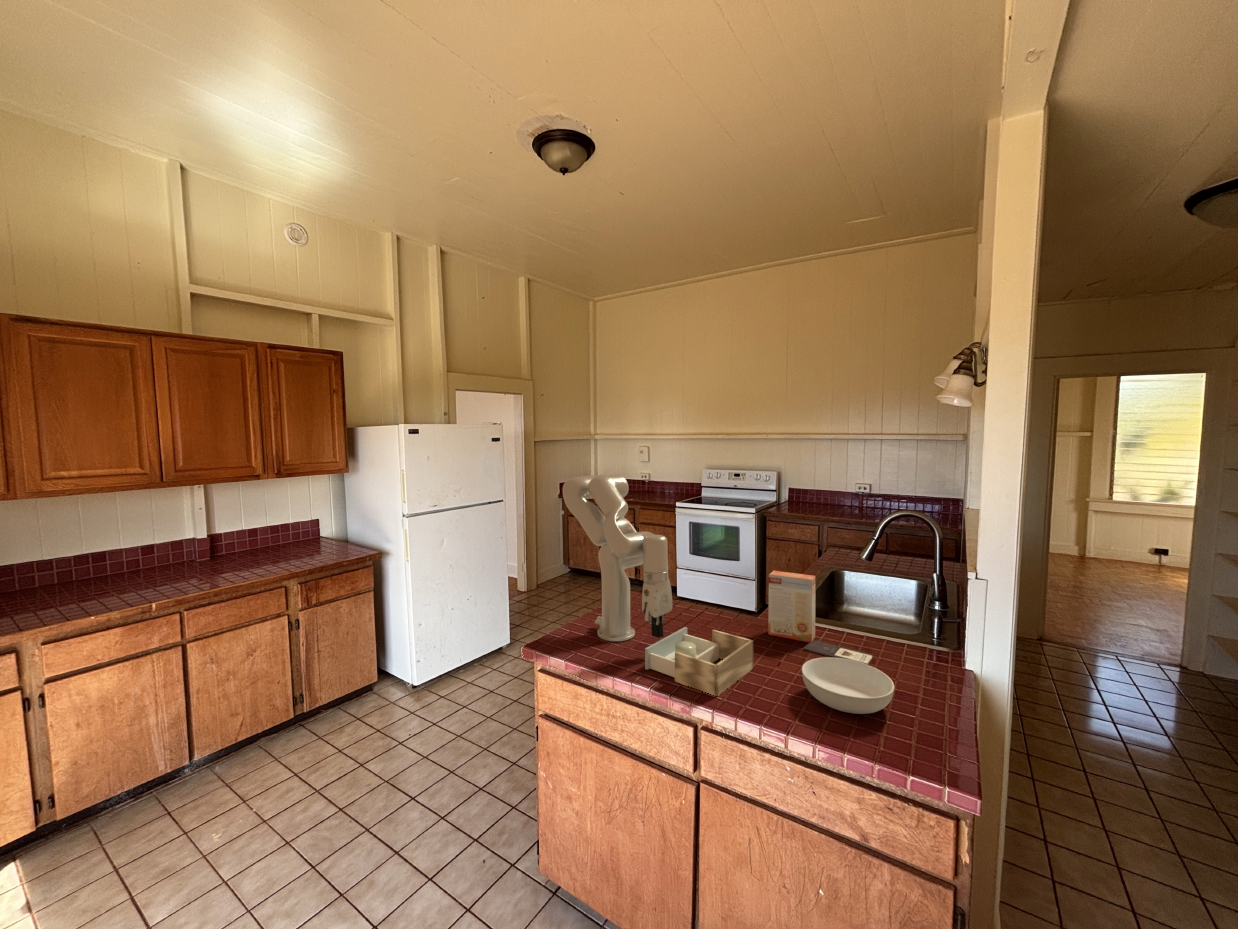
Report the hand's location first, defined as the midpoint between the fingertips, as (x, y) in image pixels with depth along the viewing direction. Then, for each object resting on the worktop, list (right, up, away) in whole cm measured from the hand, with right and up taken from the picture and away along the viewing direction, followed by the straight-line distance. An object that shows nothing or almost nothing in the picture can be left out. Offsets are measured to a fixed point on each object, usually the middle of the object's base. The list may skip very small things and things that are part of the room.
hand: (657, 636), depth 150 cm
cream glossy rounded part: (+8, -5, -6) cm, 11 cm away
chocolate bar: (+55, -6, +1) cm, 56 cm away
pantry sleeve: (+15, -6, -12) cm, 20 cm away
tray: (+8, -6, -6) cm, 12 cm away
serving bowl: (+45, -7, -27) cm, 53 cm away
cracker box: (+46, -5, +14) cm, 48 cm away
